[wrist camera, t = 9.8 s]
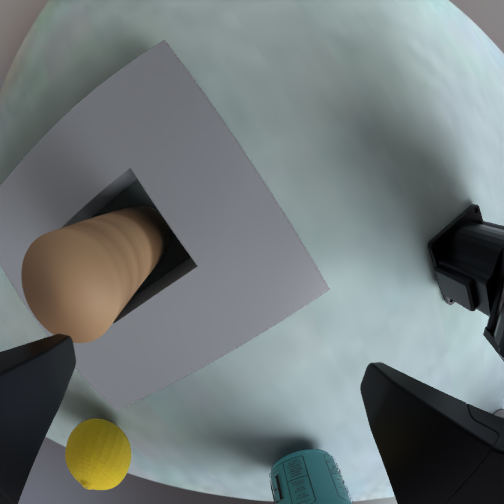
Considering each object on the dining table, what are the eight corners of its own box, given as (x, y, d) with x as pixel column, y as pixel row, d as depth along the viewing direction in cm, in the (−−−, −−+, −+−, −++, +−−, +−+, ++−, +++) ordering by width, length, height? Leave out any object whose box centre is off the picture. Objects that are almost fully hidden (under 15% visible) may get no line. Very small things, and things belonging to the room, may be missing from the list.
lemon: (150, 437, 22) (135, 505, 14) (107, 444, 22) (87, 504, 14) (114, 395, 21) (85, 465, 13) (72, 406, 21) (40, 466, 13)
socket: (175, 65, 16) (164, 40, 12) (310, 268, 20) (329, 289, 16) (10, 211, 17) (-23, 219, 13) (129, 378, 20) (116, 410, 17)
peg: (146, 192, 18) (67, 205, 8) (182, 244, 19) (140, 309, 9) (100, 228, 18) (6, 273, 8) (135, 277, 19) (68, 359, 9)
